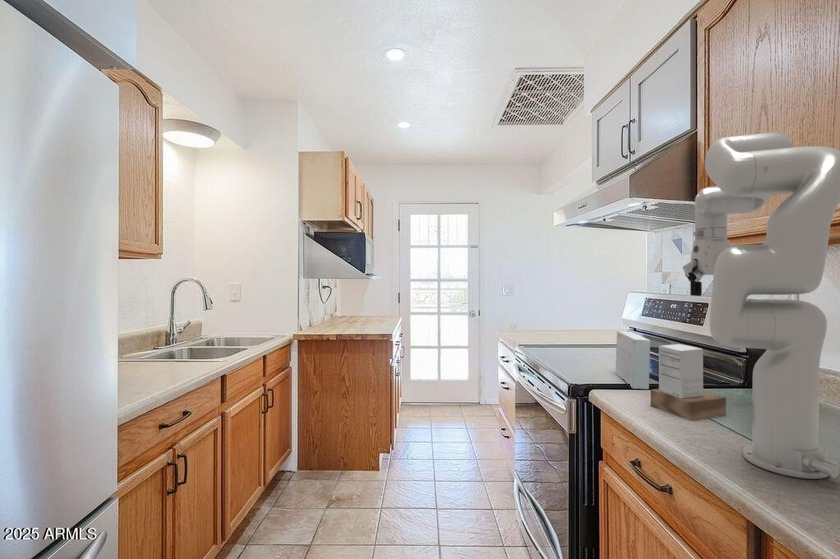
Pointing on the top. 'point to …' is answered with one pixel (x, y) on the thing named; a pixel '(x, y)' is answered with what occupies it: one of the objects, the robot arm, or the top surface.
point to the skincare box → (633, 359)
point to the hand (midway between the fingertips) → (710, 295)
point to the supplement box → (681, 370)
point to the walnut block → (690, 405)
